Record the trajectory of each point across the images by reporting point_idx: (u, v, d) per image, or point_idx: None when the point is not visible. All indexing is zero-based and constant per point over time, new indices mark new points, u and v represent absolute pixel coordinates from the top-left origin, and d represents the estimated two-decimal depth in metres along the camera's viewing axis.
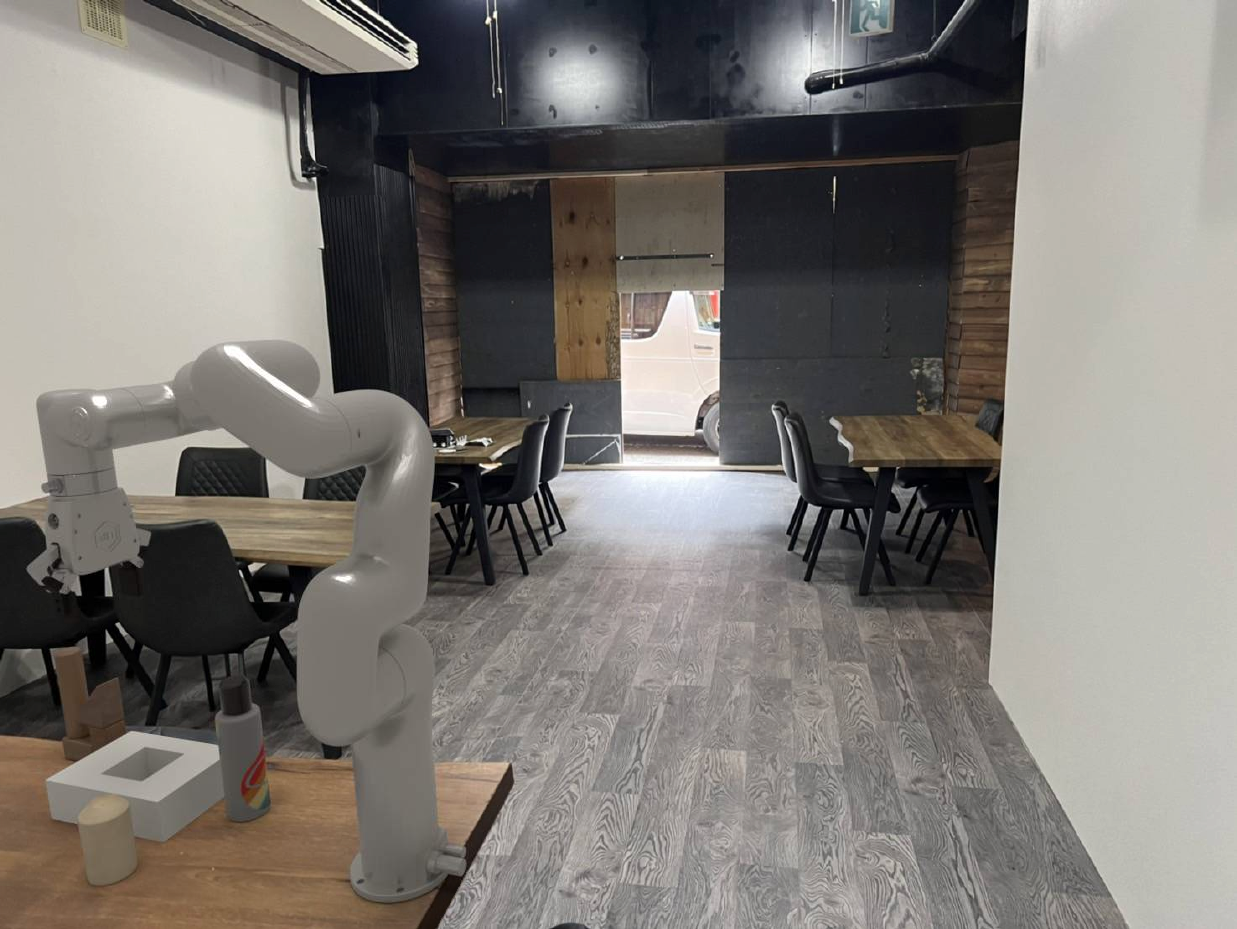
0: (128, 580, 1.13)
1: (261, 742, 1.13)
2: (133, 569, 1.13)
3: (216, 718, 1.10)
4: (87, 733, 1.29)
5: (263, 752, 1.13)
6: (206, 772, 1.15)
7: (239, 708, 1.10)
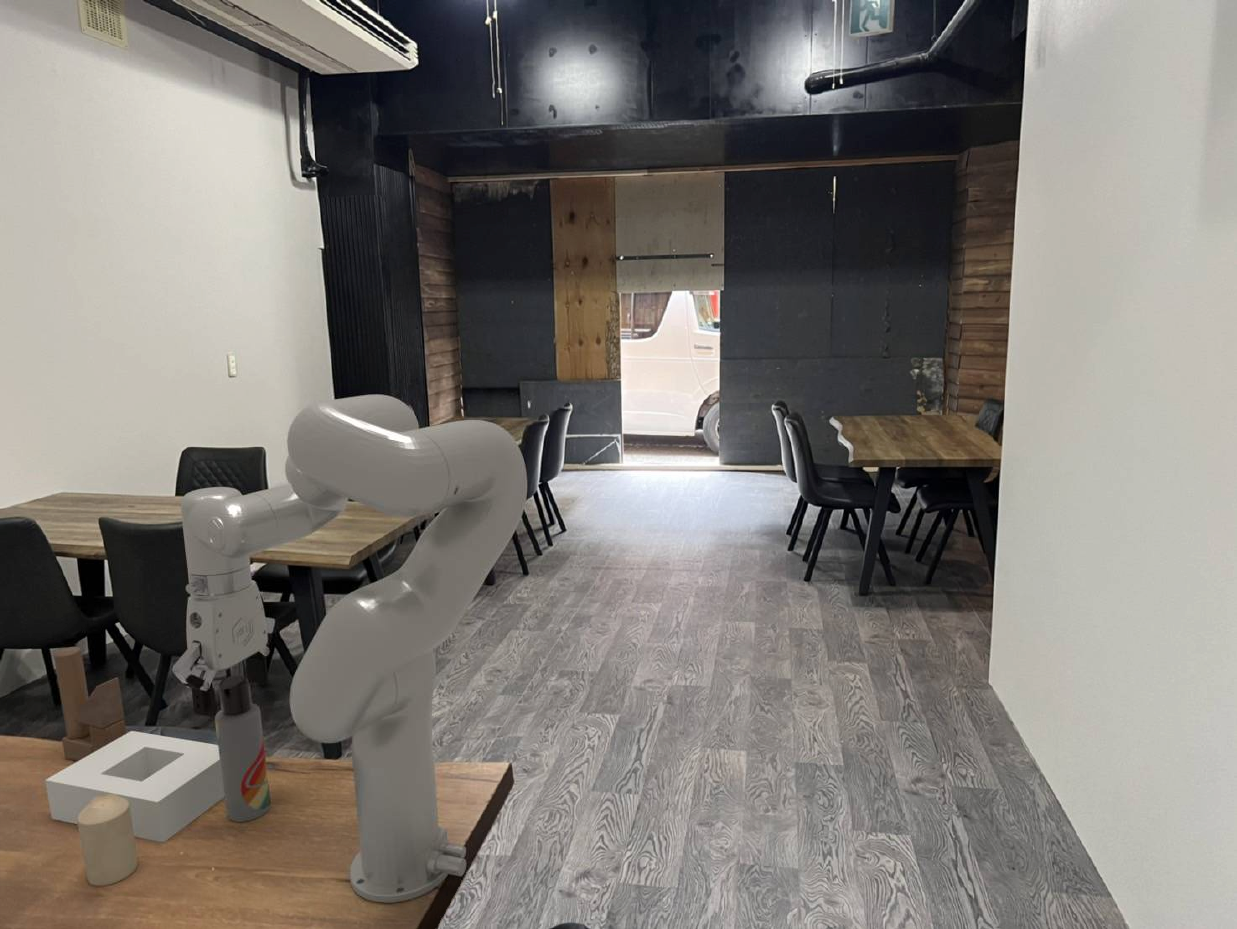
0: (255, 668, 1.16)
1: (261, 742, 1.13)
2: (260, 658, 1.15)
3: (216, 718, 1.10)
4: (87, 733, 1.29)
5: (263, 752, 1.13)
6: (206, 772, 1.15)
7: (239, 708, 1.10)
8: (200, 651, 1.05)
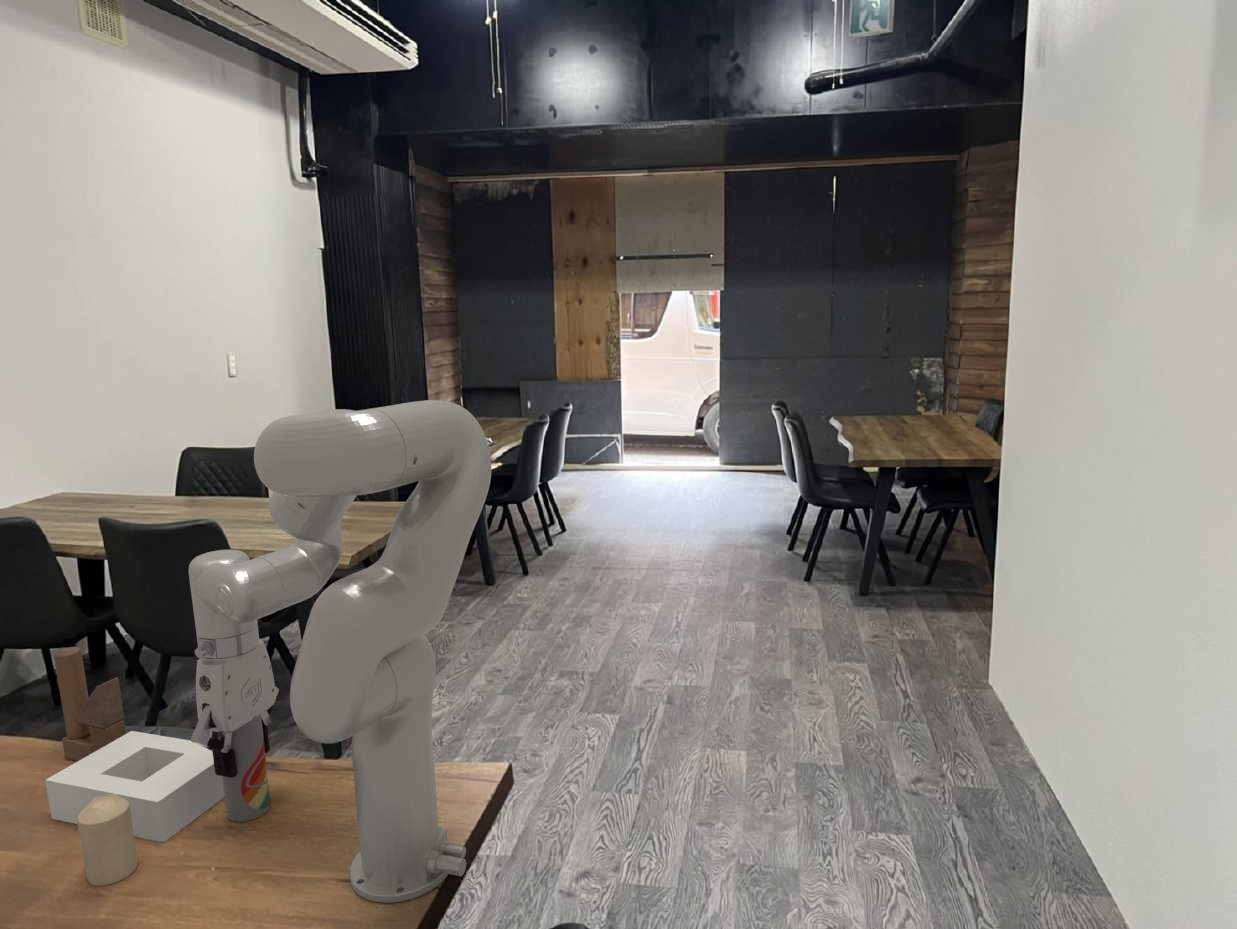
0: None
1: (261, 742, 1.13)
2: None
3: None
4: (87, 733, 1.29)
5: (263, 752, 1.13)
6: (206, 772, 1.15)
7: None
8: (210, 714, 1.07)
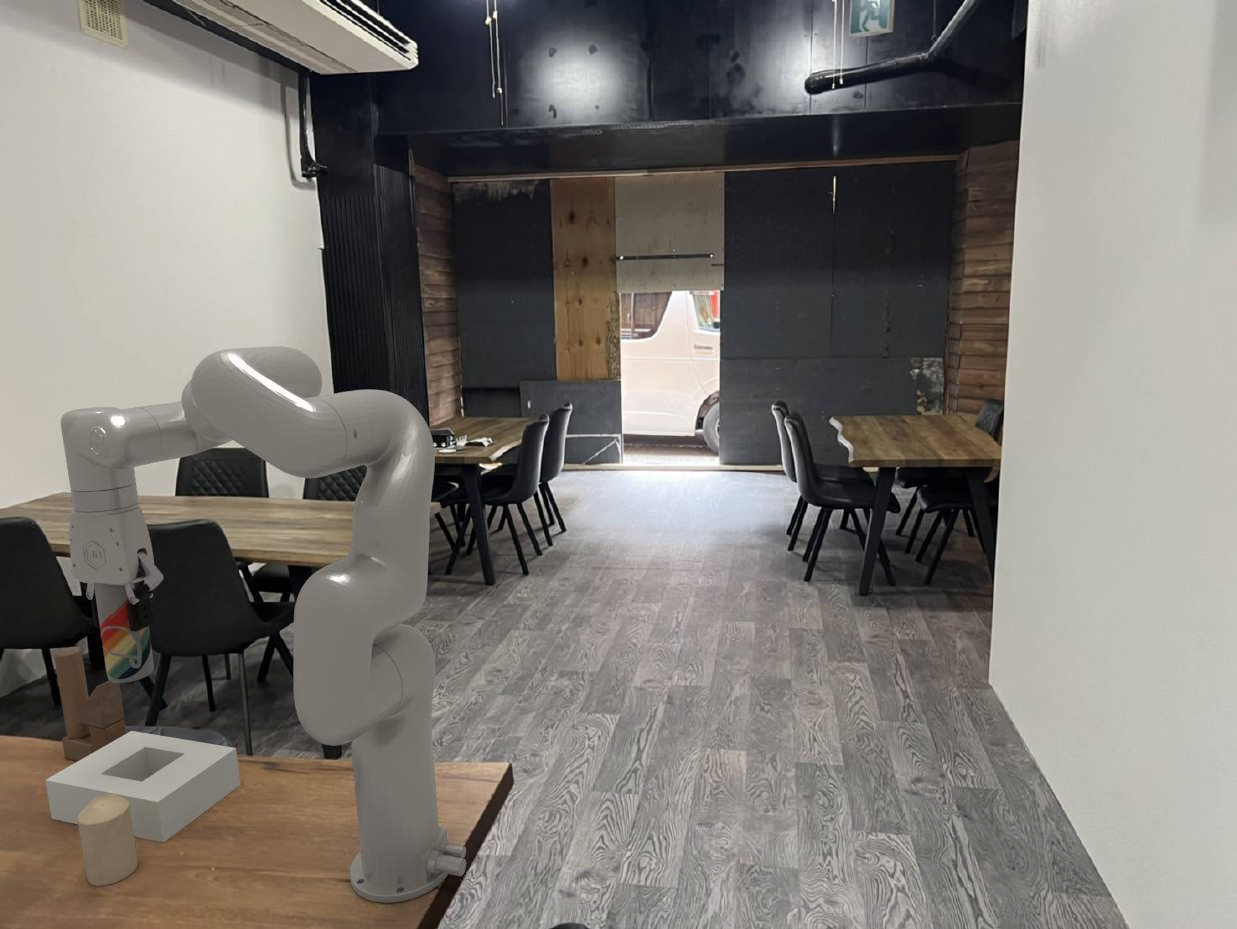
0: None
1: (109, 611, 1.09)
2: (130, 603, 1.10)
3: None
4: (87, 733, 1.29)
5: (111, 623, 1.10)
6: (206, 772, 1.15)
7: None
8: None
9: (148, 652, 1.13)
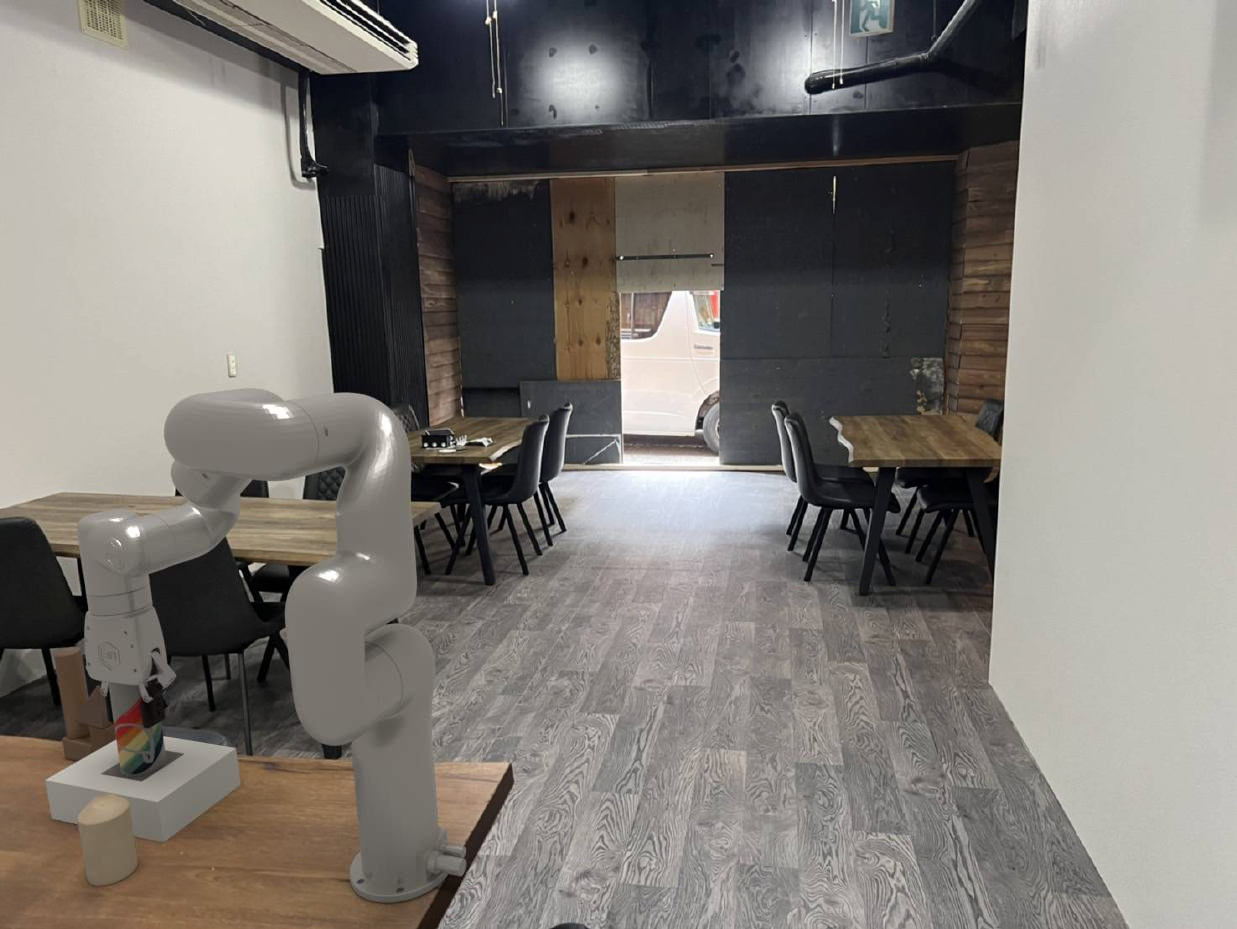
0: None
1: (123, 710, 1.12)
2: (144, 701, 1.13)
3: None
4: (87, 733, 1.29)
5: (125, 721, 1.12)
6: (206, 772, 1.15)
7: None
8: None
9: (161, 746, 1.16)
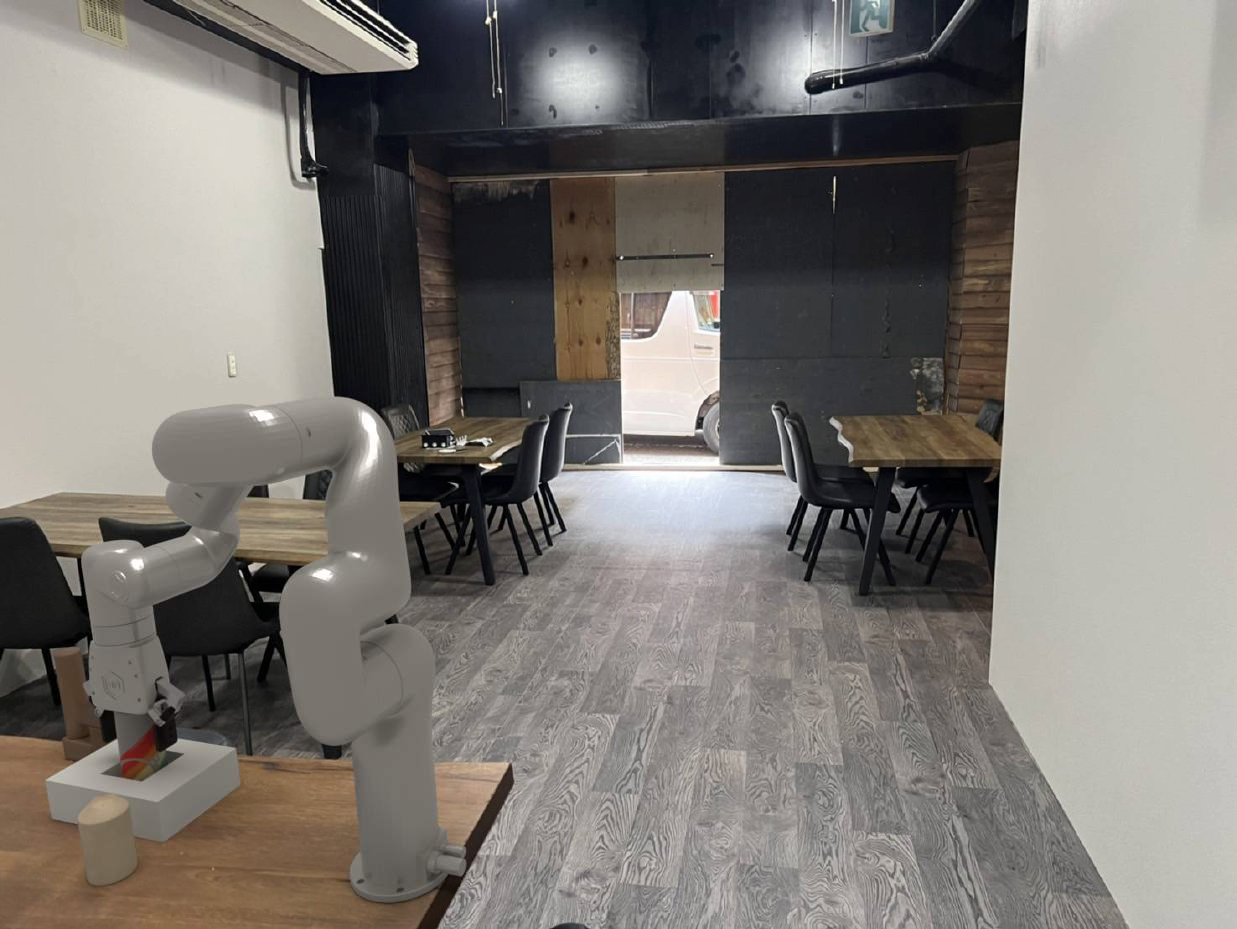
0: None
1: (129, 745, 1.13)
2: (156, 724, 1.13)
3: None
4: (87, 733, 1.29)
5: (131, 756, 1.13)
6: (206, 772, 1.15)
7: None
8: None
9: None
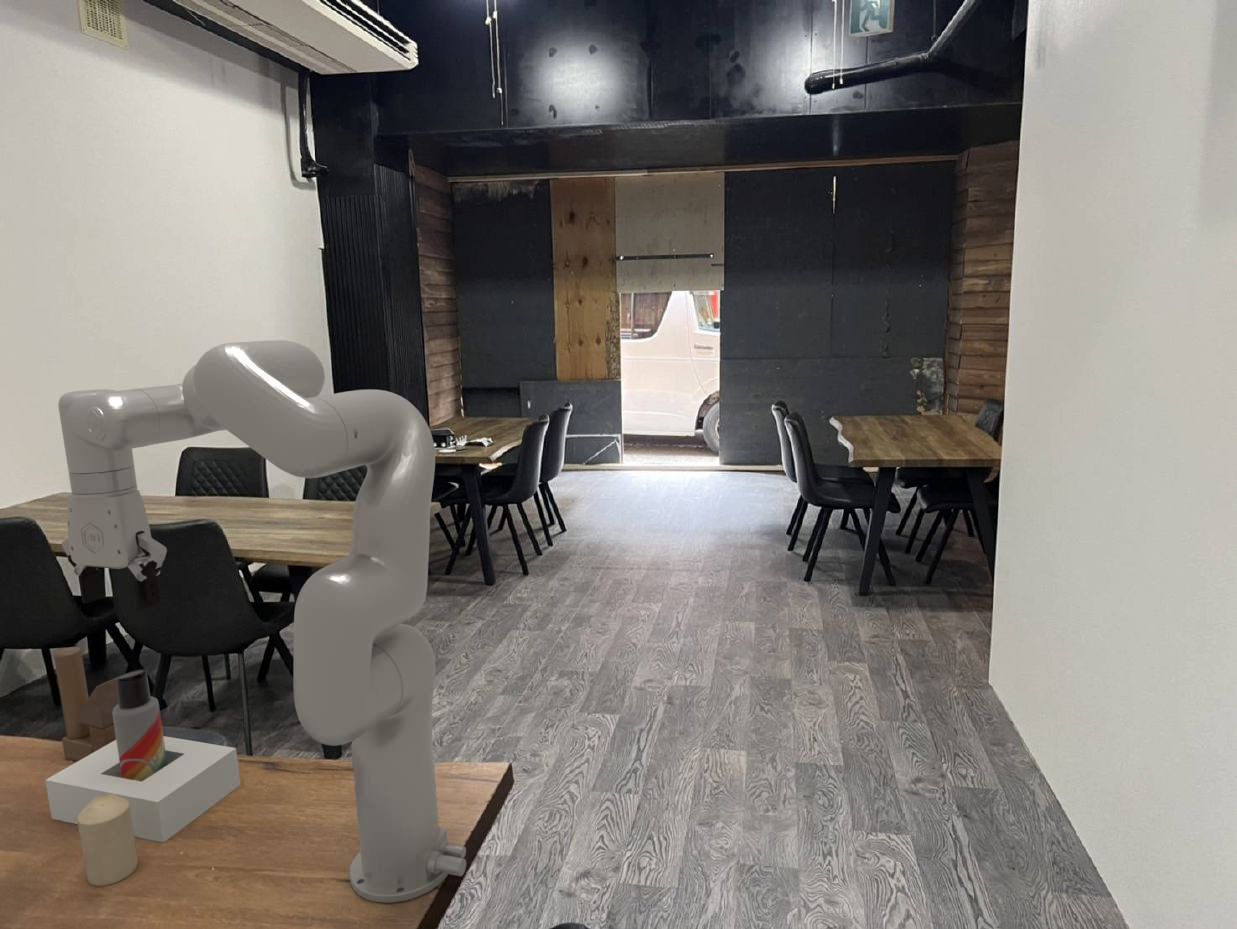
0: None
1: (127, 745, 1.13)
2: (137, 580, 1.09)
3: None
4: (87, 733, 1.29)
5: (130, 756, 1.13)
6: (206, 772, 1.15)
7: (118, 700, 1.14)
8: None
9: None
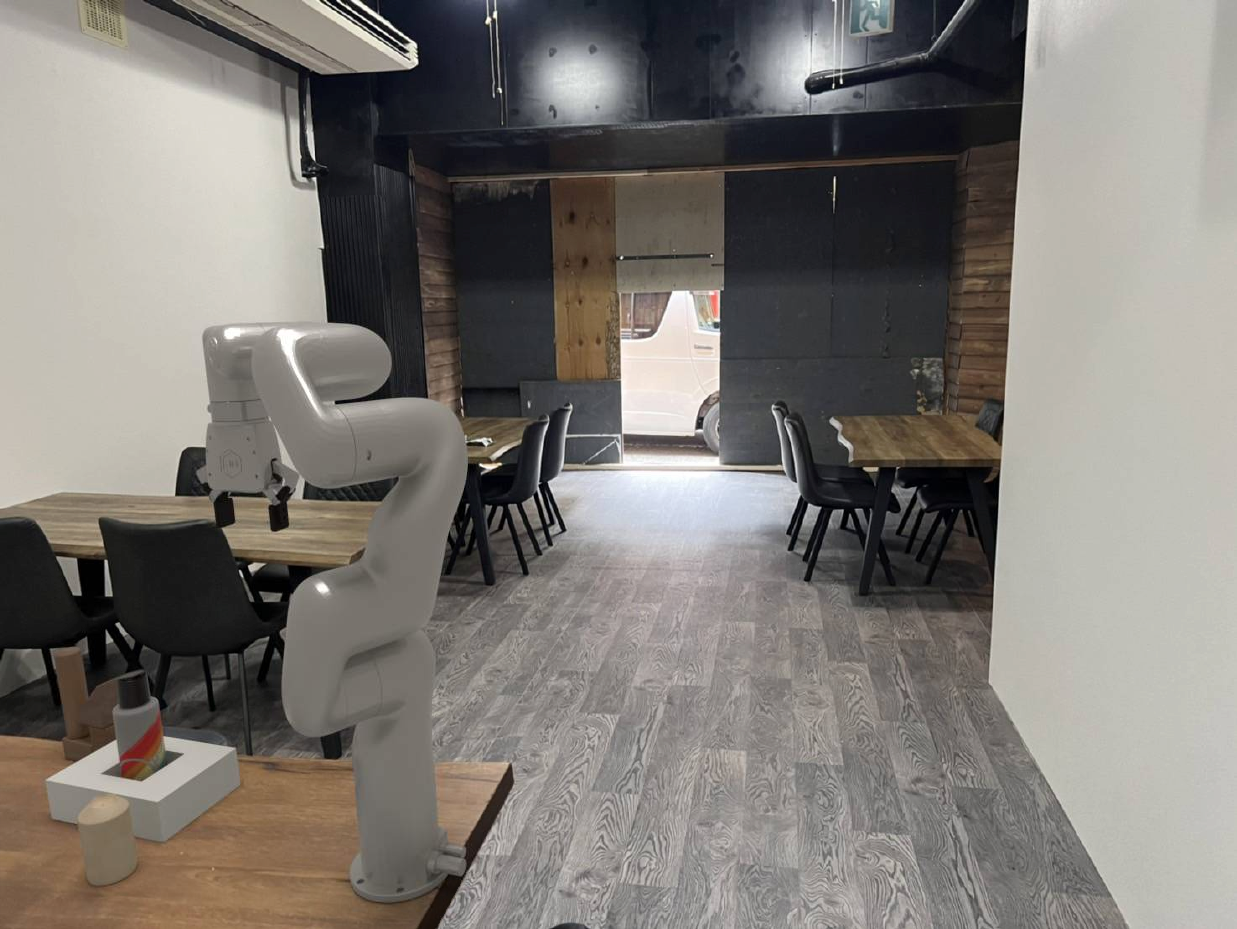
0: None
1: (128, 745, 1.13)
2: (271, 504, 1.16)
3: None
4: (87, 733, 1.29)
5: (130, 756, 1.13)
6: (206, 772, 1.15)
7: (118, 700, 1.14)
8: None
9: None
